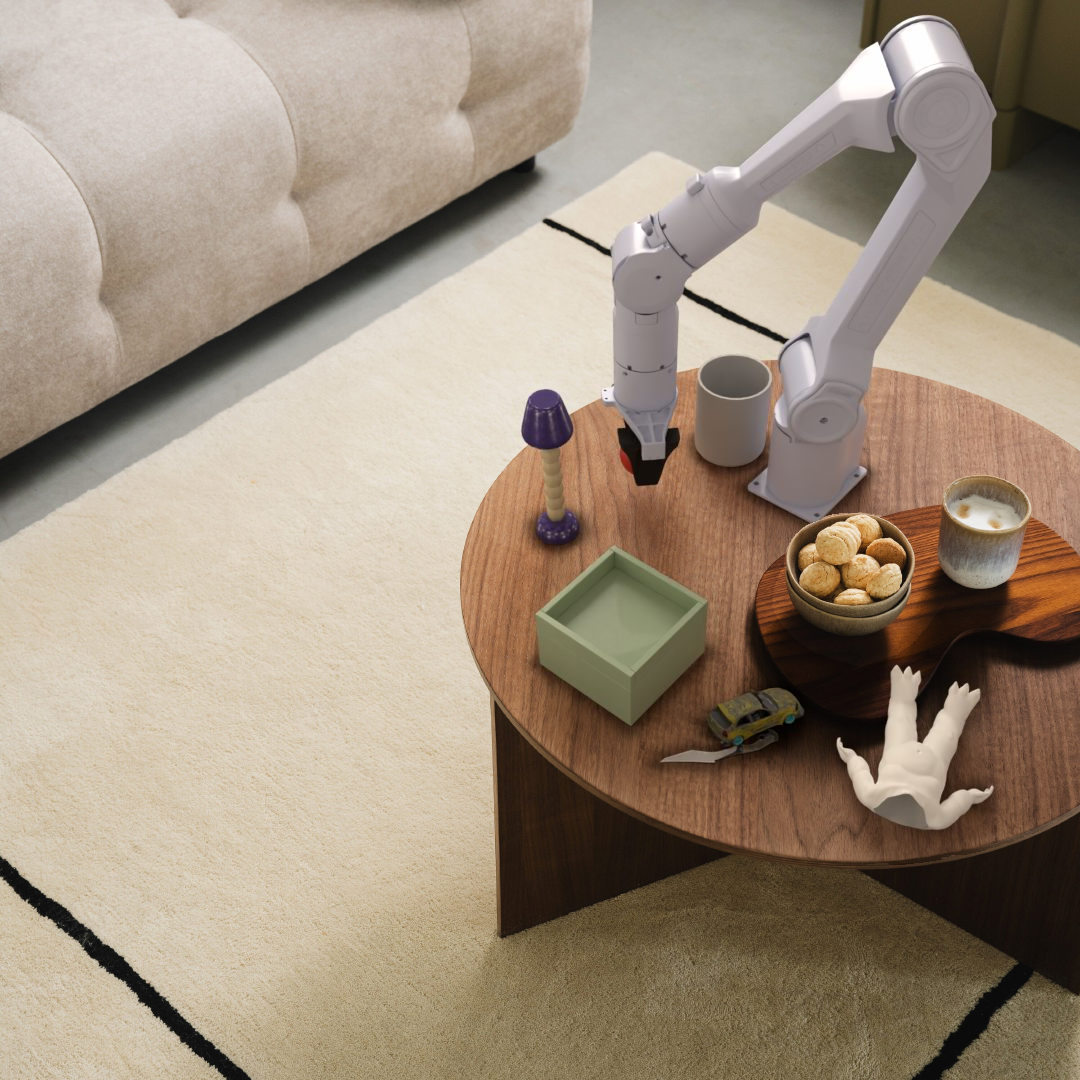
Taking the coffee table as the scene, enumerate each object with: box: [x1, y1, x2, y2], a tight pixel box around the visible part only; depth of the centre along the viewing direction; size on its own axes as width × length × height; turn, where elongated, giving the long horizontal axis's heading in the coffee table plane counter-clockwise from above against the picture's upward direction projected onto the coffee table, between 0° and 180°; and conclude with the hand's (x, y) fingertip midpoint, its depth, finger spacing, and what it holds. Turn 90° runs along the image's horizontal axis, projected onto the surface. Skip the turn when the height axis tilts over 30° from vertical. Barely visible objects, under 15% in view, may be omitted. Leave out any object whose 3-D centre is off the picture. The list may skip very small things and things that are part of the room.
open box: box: [534, 544, 709, 727], centre depth 98 cm, size 10×10×7 cm
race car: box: [705, 687, 805, 748], centre depth 94 cm, size 4×8×2 cm, turn 113°
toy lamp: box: [520, 388, 581, 546], centre depth 105 cm, size 5×5×17 cm
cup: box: [694, 353, 773, 468], centre depth 116 cm, size 7×10×9 cm
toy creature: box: [836, 664, 995, 831], centre depth 89 cm, size 12×6×12 cm
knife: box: [660, 728, 779, 763], centre depth 93 cm, size 10×2×1 cm, turn 106°
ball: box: [619, 447, 633, 475], centre depth 111 cm, size 5×5×5 cm
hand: (643, 465), depth 112 cm, fingers closed on ball, 4 cm apart
